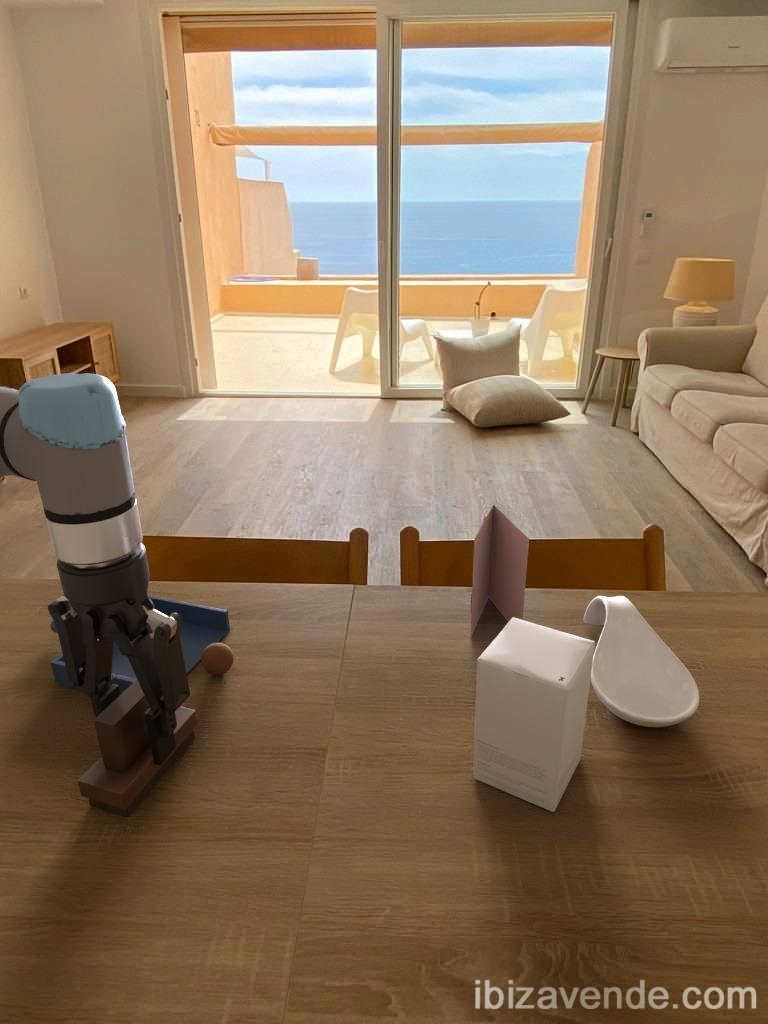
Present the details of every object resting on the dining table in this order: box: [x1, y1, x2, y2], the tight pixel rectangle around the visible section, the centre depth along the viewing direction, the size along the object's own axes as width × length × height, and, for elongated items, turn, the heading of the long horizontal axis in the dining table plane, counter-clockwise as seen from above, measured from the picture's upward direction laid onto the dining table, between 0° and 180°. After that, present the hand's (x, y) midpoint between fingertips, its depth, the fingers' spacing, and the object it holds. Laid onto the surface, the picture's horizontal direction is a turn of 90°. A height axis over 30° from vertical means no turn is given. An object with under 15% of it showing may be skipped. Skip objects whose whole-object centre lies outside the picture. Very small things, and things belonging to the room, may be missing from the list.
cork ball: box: [200, 642, 235, 676], centre depth 87 cm, size 4×4×4 cm
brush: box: [77, 680, 199, 818], centre depth 71 cm, size 5×12×10 cm, turn 161°
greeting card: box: [469, 503, 530, 638], centre depth 95 cm, size 11×7×15 cm, turn 160°
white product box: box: [472, 617, 596, 813], centre depth 70 cm, size 9×9×15 cm
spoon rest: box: [582, 595, 700, 728], centre depth 85 cm, size 24×12×7 cm, turn 0°
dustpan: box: [50, 594, 231, 694], centre depth 92 cm, size 23×17×3 cm
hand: (141, 748), depth 72 cm, fingers closed on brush, 5 cm apart
